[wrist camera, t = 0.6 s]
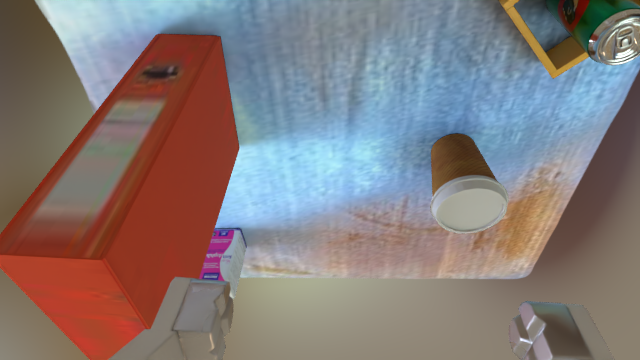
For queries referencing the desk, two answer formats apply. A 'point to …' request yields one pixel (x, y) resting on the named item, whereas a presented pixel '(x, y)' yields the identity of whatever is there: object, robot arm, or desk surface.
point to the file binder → (130, 198)
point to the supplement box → (225, 257)
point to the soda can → (601, 27)
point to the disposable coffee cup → (464, 187)
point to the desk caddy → (556, 57)
